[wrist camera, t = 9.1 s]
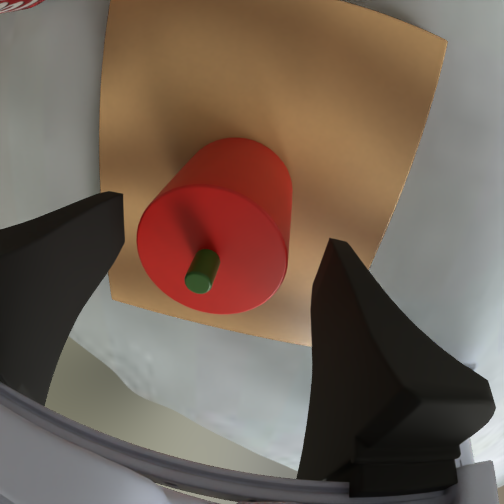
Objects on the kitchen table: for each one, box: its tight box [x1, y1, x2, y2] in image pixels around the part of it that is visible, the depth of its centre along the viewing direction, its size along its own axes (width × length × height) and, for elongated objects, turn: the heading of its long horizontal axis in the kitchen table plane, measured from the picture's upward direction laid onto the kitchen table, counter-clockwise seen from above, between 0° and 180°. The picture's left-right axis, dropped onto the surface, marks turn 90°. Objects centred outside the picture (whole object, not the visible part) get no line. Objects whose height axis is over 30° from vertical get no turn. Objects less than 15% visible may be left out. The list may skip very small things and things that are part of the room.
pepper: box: [136, 138, 293, 315], centre depth 11 cm, size 5×5×6 cm
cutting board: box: [99, 0, 448, 347], centre depth 15 cm, size 18×14×2 cm
